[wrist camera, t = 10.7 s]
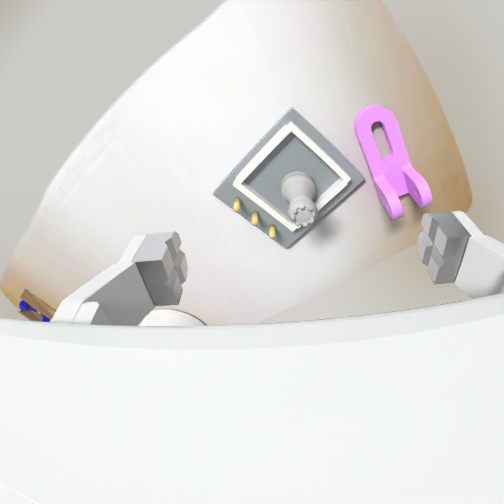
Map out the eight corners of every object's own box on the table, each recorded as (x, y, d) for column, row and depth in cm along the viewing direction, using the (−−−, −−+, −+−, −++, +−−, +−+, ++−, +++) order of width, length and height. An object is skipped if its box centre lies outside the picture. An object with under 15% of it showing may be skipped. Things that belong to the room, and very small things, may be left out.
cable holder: (26, 298, 58) (18, 310, 54) (27, 291, 56) (19, 303, 53) (52, 317, 60) (45, 329, 57) (55, 310, 59) (47, 323, 56)
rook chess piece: (279, 169, 38) (282, 198, 31) (315, 169, 37) (326, 198, 31) (279, 201, 40) (282, 235, 34) (314, 201, 40) (323, 234, 34)
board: (285, 244, 46) (286, 259, 43) (213, 191, 41) (209, 203, 38) (362, 175, 38) (370, 187, 36) (291, 107, 34) (294, 112, 31)
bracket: (413, 184, 39) (434, 209, 33) (379, 198, 40) (395, 225, 35) (386, 98, 32) (409, 110, 26) (347, 113, 34) (363, 127, 28)
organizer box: (58, 329, 63) (54, 336, 61) (22, 304, 59) (17, 311, 57) (64, 315, 59) (59, 324, 57) (25, 289, 55) (20, 296, 53)
